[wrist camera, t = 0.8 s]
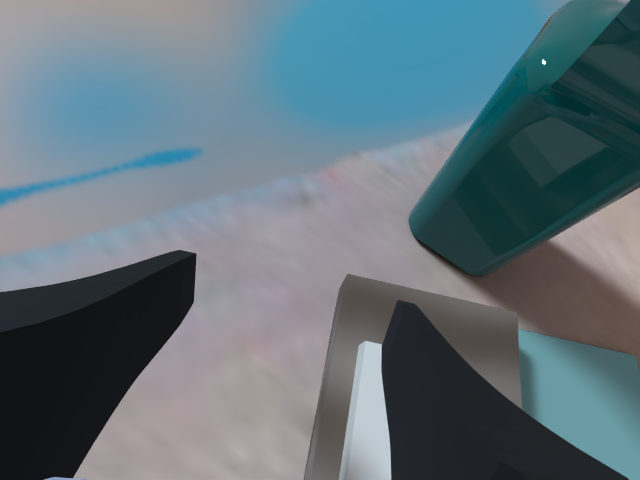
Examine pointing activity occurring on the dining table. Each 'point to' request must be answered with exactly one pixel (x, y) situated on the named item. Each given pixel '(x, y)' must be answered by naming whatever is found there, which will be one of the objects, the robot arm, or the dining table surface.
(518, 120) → the green bottle
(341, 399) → the grey flat block
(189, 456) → the dining table surface
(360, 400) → the white block
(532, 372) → the mat
